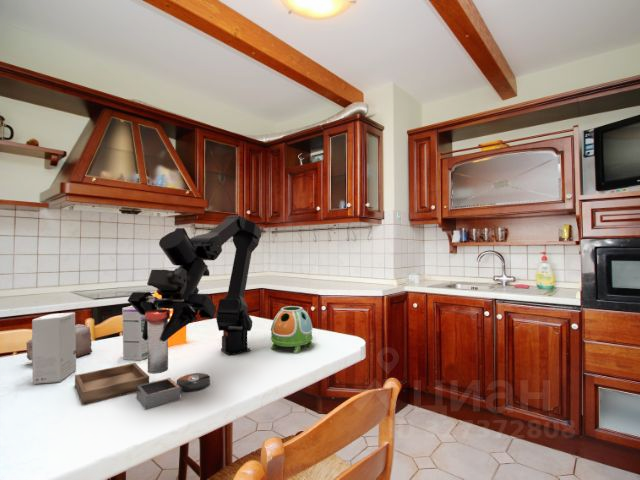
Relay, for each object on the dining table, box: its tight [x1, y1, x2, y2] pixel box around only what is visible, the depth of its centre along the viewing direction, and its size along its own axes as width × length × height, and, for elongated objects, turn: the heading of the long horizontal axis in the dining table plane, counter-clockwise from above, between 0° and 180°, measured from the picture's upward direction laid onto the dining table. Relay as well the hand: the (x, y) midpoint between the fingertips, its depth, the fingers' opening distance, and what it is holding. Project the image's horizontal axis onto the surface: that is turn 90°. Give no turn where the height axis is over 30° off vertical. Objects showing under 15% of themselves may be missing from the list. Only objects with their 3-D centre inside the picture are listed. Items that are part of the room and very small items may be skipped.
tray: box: [74, 362, 150, 406], centre depth 78 cm, size 12×12×2 cm
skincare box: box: [31, 312, 77, 385], centre depth 84 cm, size 8×6×15 cm
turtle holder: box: [270, 305, 314, 354], centre depth 110 cm, size 12×18×12 cm
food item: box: [25, 324, 93, 363], centre depth 98 cm, size 14×8×10 cm, turn 157°
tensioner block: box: [135, 372, 211, 410], centre depth 75 cm, size 15×9×2 cm, turn 131°
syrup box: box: [121, 305, 148, 361], centre depth 99 cm, size 6×6×14 cm
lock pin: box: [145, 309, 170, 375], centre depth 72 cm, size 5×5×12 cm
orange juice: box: [152, 288, 187, 348], centre depth 113 cm, size 8×9×20 cm
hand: (153, 339), depth 71 cm, fingers closed on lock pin, 4 cm apart
